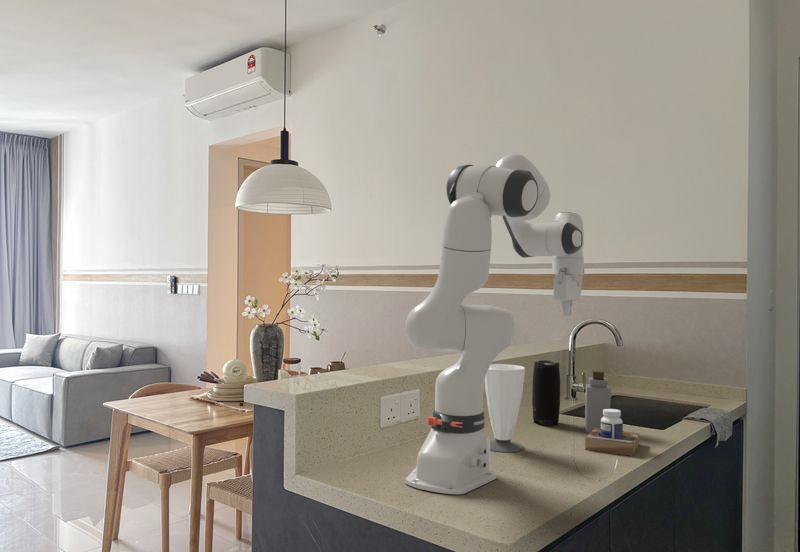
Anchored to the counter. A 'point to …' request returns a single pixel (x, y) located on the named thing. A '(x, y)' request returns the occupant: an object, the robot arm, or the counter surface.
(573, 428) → the counter surface
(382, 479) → the counter surface
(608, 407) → the perfume bottle
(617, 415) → the pill bottle
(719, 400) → the counter surface
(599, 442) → the jig
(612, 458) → the counter surface
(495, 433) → the cup
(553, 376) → the portable speaker
